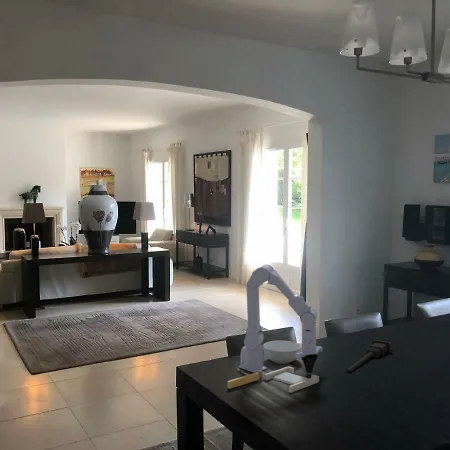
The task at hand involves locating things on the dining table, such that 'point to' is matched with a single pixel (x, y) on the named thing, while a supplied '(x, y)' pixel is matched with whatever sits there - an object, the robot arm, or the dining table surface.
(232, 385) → the bar
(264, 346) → the cereal bowl
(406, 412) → the dining table surface
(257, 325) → the robot arm
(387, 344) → the electrical plug
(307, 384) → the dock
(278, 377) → the hard drive
